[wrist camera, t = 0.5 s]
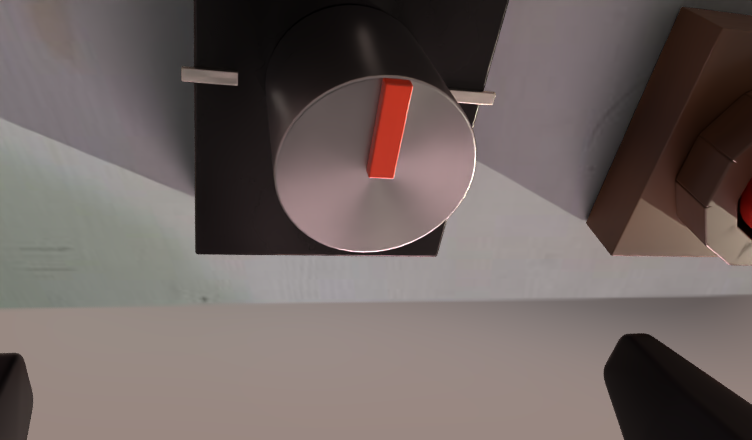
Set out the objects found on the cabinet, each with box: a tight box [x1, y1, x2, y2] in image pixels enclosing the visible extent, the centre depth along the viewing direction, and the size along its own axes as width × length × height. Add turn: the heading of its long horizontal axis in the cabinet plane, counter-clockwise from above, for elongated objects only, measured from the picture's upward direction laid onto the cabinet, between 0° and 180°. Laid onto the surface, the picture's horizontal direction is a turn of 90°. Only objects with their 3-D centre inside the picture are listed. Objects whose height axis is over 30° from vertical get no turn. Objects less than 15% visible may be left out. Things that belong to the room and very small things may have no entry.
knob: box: [265, 5, 477, 252], centre depth 15 cm, size 4×4×5 cm
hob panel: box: [181, 0, 509, 257], centre depth 18 cm, size 12×9×3 cm
